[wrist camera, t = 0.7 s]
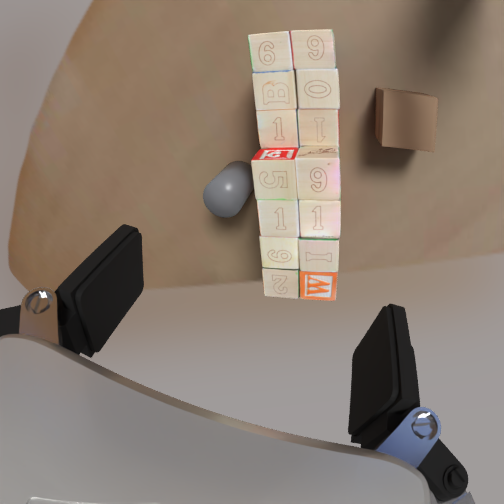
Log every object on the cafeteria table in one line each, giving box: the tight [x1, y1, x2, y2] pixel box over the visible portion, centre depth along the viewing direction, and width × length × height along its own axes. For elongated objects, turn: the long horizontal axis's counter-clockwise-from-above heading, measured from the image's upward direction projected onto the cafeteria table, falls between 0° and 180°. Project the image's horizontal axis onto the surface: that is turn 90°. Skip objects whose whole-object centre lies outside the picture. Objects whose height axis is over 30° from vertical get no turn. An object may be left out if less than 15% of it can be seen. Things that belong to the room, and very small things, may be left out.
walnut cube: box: [375, 88, 438, 152], centre depth 24 cm, size 5×5×5 cm
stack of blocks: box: [248, 30, 341, 301], centre depth 26 cm, size 21×6×12 cm, turn 6°
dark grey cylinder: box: [203, 161, 254, 217], centre depth 32 cm, size 4×4×6 cm
